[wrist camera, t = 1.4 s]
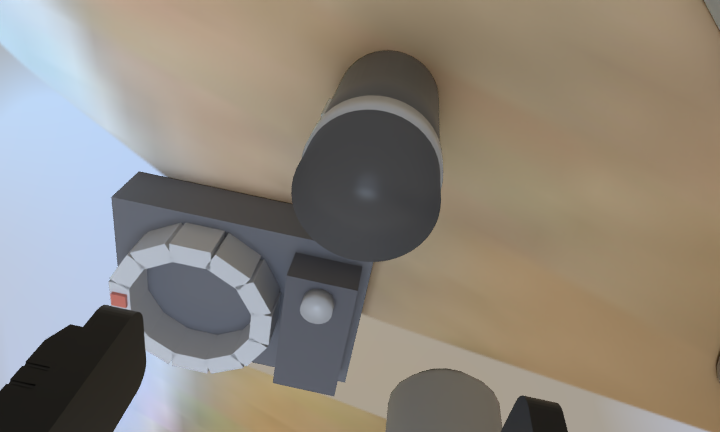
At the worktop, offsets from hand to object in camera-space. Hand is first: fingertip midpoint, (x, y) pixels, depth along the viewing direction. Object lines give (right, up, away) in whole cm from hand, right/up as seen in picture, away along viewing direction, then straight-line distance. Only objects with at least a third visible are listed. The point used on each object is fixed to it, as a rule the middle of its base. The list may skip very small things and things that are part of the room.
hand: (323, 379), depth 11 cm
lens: (+2, +9, +15) cm, 18 cm away
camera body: (-6, 0, +21) cm, 22 cm away
